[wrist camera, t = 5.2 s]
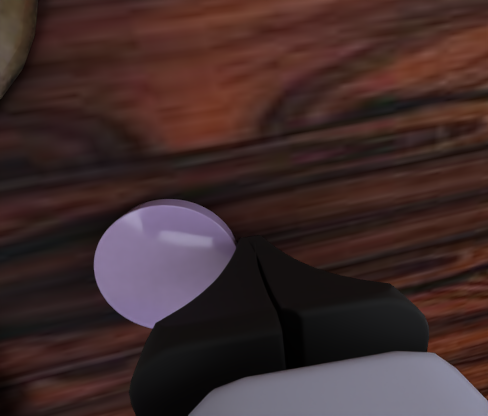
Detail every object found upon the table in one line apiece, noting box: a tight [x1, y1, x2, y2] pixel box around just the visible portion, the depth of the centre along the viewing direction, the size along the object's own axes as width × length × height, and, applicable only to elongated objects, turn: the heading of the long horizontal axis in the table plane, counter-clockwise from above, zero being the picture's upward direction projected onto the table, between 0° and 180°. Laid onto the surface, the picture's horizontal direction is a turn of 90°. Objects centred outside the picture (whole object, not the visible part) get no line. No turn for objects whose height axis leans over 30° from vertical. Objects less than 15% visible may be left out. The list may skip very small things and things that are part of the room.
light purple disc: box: [94, 199, 237, 329], centre depth 11 cm, size 6×6×1 cm
